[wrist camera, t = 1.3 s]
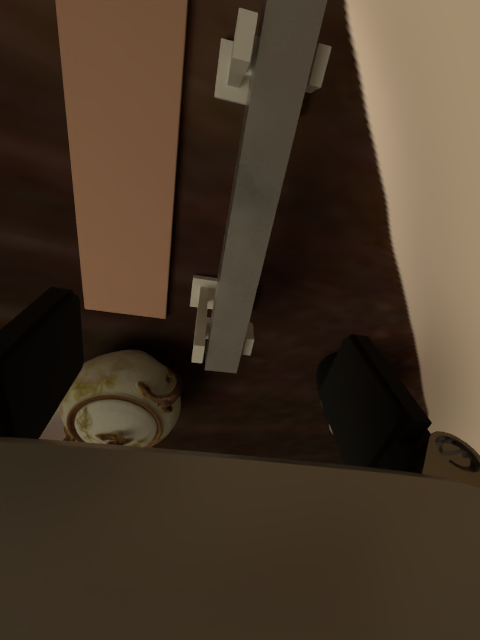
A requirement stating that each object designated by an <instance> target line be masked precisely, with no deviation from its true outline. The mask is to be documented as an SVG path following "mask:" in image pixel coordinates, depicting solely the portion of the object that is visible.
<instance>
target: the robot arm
mask: <svg viewBox="0 0 480 640" xmlns="http://www.w3.org/2000/svg"><path fill="white" fill-rule="evenodd" d="M83 362H84V357H83V343H82V329H81V315H80V301H79V297H78V296H77V295H74V293H73V291H72V290H68V289H62V288H56V287H51V288H49V289H48V290H47V291H46V292H45V293H43V294H42V295H41V296H40V297H39V298H37V299H36V300H35V301H34V302H33V303H32V304H30V305H29V306H28V307H27V308H26V309H24V310H23V311H22V312H21V313H20V314H19V315H17V316H16V317H15V318H14V319H13V320H11V321H10V322H9V323H8V324H7V325H6V326H4V327H3V328H2V329H1V330H0V640H480V455H479V454H478V453H477V452H476V451H475V450H474V449H473V448H472V447H471V446H469V445H468V444H467V443H465V442H464V441H462V440H461V439H459V438H458V437H456V436H454V435H451V434H449V433H445V432H438V431H437V432H434V433H432V434H430V432H429V431H428V430H427V429H428V427H429V426H430V425H431V423H432V422H431V421H430V420H429V418H428V417H427V416H426V414H425V413H424V412H423V410H422V409H421V408H420V406H419V405H418V403H417V402H416V401H415V399H414V398H413V397H412V395H411V394H410V393H409V391H408V390H407V389H406V387H405V386H404V385H403V383H402V382H401V380H400V379H399V378H398V376H397V375H396V374H395V372H394V371H393V370H392V368H391V367H390V366H389V364H388V363H387V361H386V360H385V359H384V357H383V356H382V355H381V353H380V352H379V351H378V349H377V348H376V347H375V345H374V344H373V343H372V341H371V340H370V338H368V337H367V336H361V335H354V334H352V335H350V336H349V337H346V338H345V339H344V340H343V342H342V344H341V346H340V349H339V351H338V353H337V355H336V357H335V359H334V361H333V364H332V366H331V368H330V370H329V372H328V374H327V377H326V379H325V381H324V383H323V385H322V387H321V390H320V401H321V403H322V406H323V409H324V411H325V414H326V417H327V419H328V422H329V425H330V427H331V430H332V433H333V435H334V438H335V441H336V443H337V446H338V449H339V451H340V454H341V457H342V460H343V462H344V465H339V464H328V463H318V462H307V461H296V460H286V459H275V458H264V457H252V456H241V455H230V454H218V453H207V452H195V451H184V450H172V449H160V448H148V447H136V446H124V445H111V444H99V443H87V442H74V441H59V440H44V439H39V437H40V436H41V434H42V432H43V431H44V429H45V428H46V426H47V424H48V423H49V421H50V420H51V418H52V416H53V414H54V413H55V412H56V410H57V408H58V407H59V405H60V403H61V402H62V400H63V399H64V397H65V395H66V394H67V392H68V391H69V389H70V387H71V386H72V384H73V383H74V381H75V379H76V378H77V376H78V374H79V373H80V371H81V369H82V367H83Z"/></svg>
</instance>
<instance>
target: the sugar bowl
mask: <svg viewBox="0 0 480 640" xmlns="http://www.w3.org/2000/svg"><path fill="white" fill-rule="evenodd" d="M182 391H183V380H182V377H181V376H180V375H179V374H178V373H176V372H173V371H172V370H171V369H170V368H169V367H167V366H165V365H162V364H161V363H159V362H158V361H157V360H156V359H155V358H153V357H152V356H151V355H149V354H147V353H146V352H143V351H140V350H130V349H128V350H121V351H118V352H112V353H108V354H104V355H101V356H98V357H96V358H94V359H91V360H89V361H87V362H85V363H84V364H83V367H82V369H81V371H80V373H79V374H78V376H77V378H76V379H75V381H74V383H73V384H72V386H71V387H70V389H69V391H68V392H67V394H66V395H65V397H64V399H63V400H62V402H61V403H60V405H59V412H60V416H61V419H62V421H63V423H64V431H65V434H66V437H65V439H64V440H63V441H74V442H76V440H77V441H78V442H87V443H99V444H111V445H124V446H136V447H148V448H151V447H152V446H154V445H155V444H157V443H158V442H160V441H161V440H162V439H164V438H165V437H166V436H167V435H168V434H169V432H170V431H171V430H172V429H173V427H174V426H175V424H176V422H177V420H178V417H179V414H180V409H181V398H180V395H181V393H182Z"/></svg>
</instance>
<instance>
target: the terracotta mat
mask: <svg viewBox="0 0 480 640" xmlns="http://www.w3.org/2000/svg"><path fill="white" fill-rule="evenodd" d="M56 11H57V21H58V32H59V42H60V53H61V63H62V74H63V84H64V95H65V105H66V116H67V126H68V137H69V148H70V158H71V169H72V179H73V190H74V200H75V211H76V221H77V232H78V242H79V253H80V263H81V274H82V284H83V295H84V305H85V309H91V310H99V311H107V312H115V313H123V314H131V315H139V316H147V317H155V318H163V319H165V318H166V310H167V296H168V282H169V268H170V253H171V239H172V225H173V211H174V197H175V182H176V168H177V154H178V140H179V125H180V111H181V97H182V83H183V68H184V54H185V40H186V26H187V12H188V0H56Z"/></svg>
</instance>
